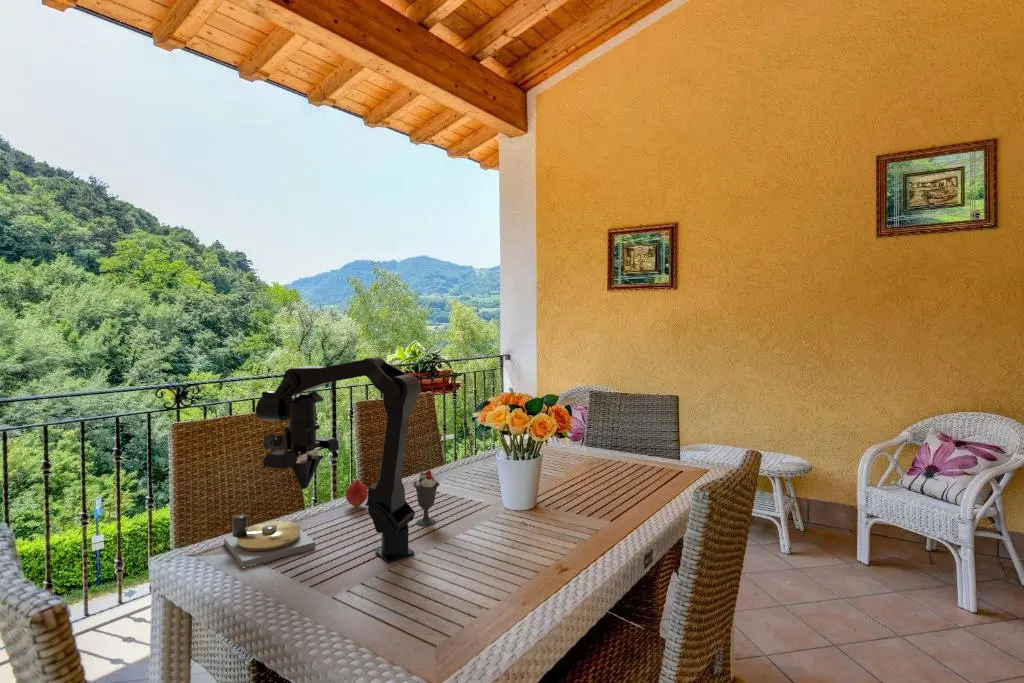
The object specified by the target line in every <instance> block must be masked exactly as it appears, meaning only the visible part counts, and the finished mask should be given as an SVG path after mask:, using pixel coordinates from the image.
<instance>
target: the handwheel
mask: <svg viewBox="0 0 1024 683" xmlns="http://www.w3.org/2000/svg"><path fill="white" fill-rule="evenodd" d="M248 518H249V517H248V514H245V513H242V514H237V515H236V514H235V515H234V516H232V520H231V521H232V524H231V525H232V536H233V537H237V546H238V547H239V548H241V549H243V550H248V551H268V550H274V549H278V548H282V547H285V546H288V545H290V544H292V543H294V542H295V541H297V540H298V539H299V538H300V529H301V526H300V525H299V524H298V523H296V522H294V521H288V520H274V521H266V522H262V523H261V522H260V523H257V524H253V525H251V526H248V524H249V523H248V521H249V520H248Z"/></svg>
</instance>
